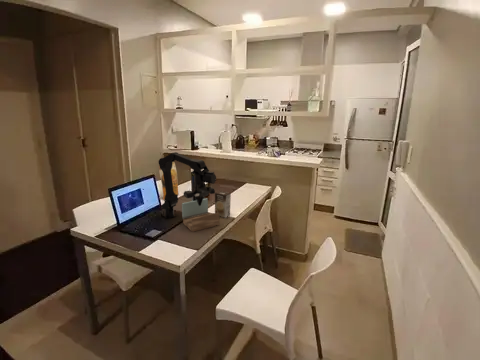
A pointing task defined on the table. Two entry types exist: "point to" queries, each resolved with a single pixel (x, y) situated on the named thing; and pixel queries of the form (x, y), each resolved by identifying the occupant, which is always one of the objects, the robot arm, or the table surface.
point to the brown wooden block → (201, 221)
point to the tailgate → (194, 208)
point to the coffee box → (222, 203)
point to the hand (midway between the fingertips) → (199, 205)
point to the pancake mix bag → (174, 179)
